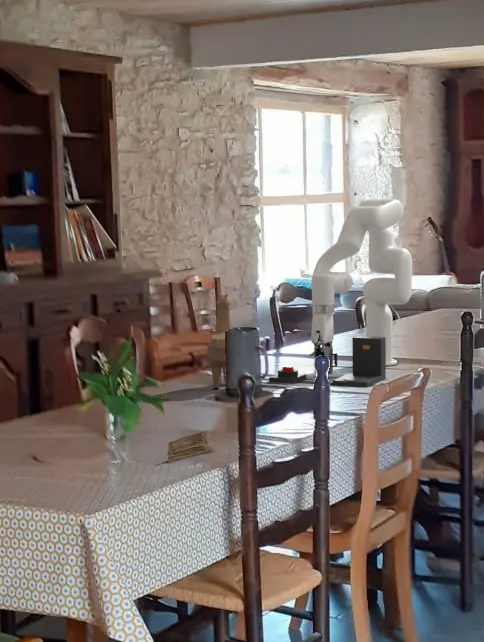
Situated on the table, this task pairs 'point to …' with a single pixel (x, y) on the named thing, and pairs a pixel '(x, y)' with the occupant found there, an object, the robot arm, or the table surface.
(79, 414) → the table surface
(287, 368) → the power button
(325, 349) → the kettle
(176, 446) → the wood plank
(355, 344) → the coffee maker
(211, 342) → the toy
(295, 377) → the switch block
